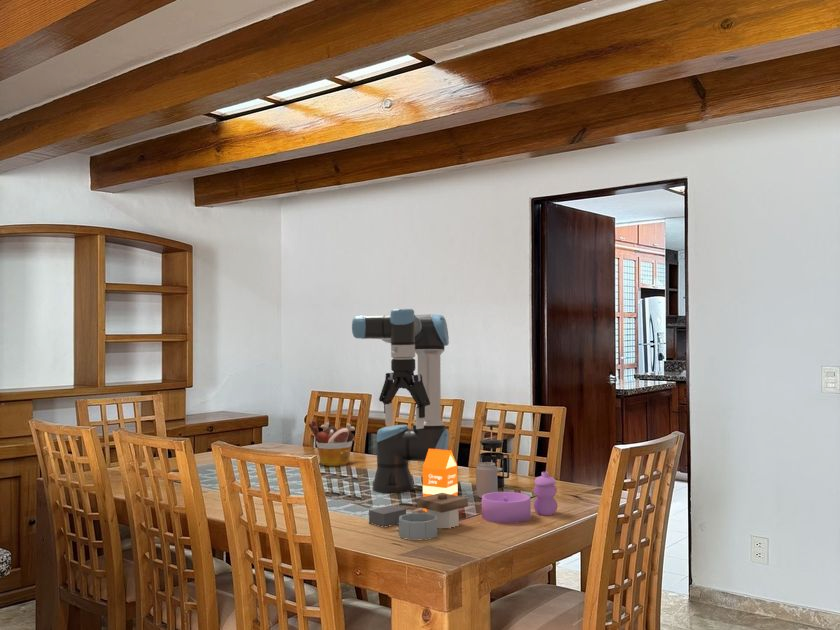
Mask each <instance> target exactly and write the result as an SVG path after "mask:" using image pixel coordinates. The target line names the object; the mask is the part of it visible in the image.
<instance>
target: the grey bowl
mask: <svg viewBox="0 0 840 630" xmlns="http://www.w3.org/2000/svg"><path fill="white" fill-rule="evenodd" d="M437 533H438V529H437V515H433V514H429V513H427V512H410V513H406V514H405V515H401V516H399V524H398V537H399V536H400V537H403V538H402V539H404V538H407V539H410V540H409V541H414V540H413V539H428V540H430V539H429V538H432V539H435V538H438V534H437ZM400 537H399V538H400ZM434 537H435V538H434ZM407 539H406V540H407Z"/></svg>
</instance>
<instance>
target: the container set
mask: <svg viewBox="0 0 840 630" xmlns="http://www.w3.org/2000/svg"><path fill="white" fill-rule="evenodd" d="M556 483H557V481H556V479H555V478H554V477H552V476H550V475H549V472H548V471H541V475H540V476H536V478H535V479H534V484H535V486H534V487H533V492H534V495H535V496H537V497H536V498H535V500H534V502H533V508H534V510H535V512H536V513H537V515H540V514H541V516H552V515H551V514H553V515H554V514H555V513H556V511H557V509H558V502H557V500H556V499H555V498H554V496H556V494H557V491H558V489H557V487H556ZM531 503H532V502H531V495H529V494H526V493H522V492H516V491H498V492H493V493H487V494H484V495H482V499H481V518H482V520H484V519H485V521H487V522H490V521H492V522H491V523H496V522H499V523H498V524H517V523H516V522H519V523H523V521H524V522H527V521H529V520H531V518H532V517H531V516H532V515H531V514H532V513H531V512H532V511H531V509H532V508H531Z"/></svg>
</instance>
